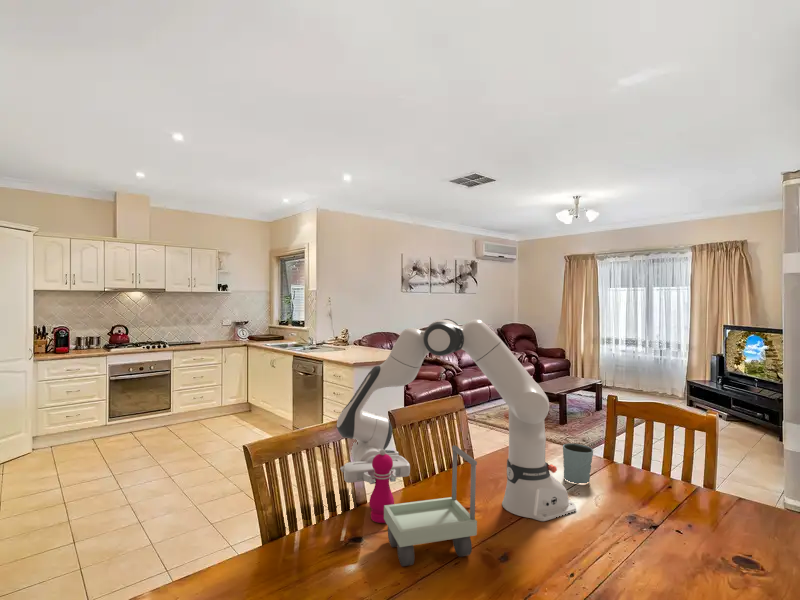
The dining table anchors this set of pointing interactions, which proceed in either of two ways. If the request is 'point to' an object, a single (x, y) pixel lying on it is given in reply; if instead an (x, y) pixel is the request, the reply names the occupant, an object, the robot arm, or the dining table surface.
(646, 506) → the dining table surface
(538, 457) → the robot arm
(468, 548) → the serving trolley
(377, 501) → the pepper mill
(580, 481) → the grey cup
